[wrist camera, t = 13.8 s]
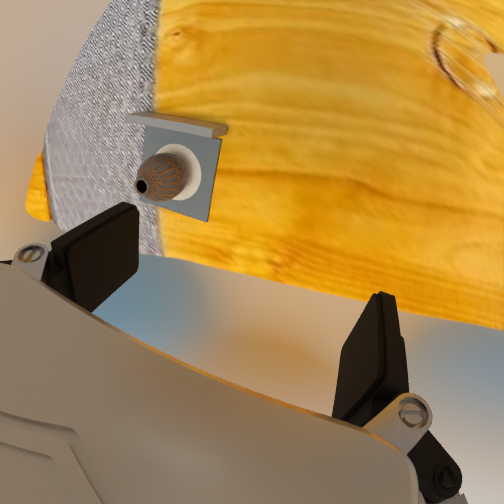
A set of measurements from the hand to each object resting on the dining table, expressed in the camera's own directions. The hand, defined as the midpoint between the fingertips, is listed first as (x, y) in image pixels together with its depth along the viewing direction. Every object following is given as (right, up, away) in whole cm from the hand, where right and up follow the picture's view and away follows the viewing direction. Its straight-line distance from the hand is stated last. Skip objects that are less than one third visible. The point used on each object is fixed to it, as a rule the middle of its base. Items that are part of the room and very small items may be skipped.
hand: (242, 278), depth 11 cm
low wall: (-10, +20, +29) cm, 36 cm away
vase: (-11, +13, +32) cm, 37 cm away
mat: (-11, +13, +33) cm, 37 cm away
